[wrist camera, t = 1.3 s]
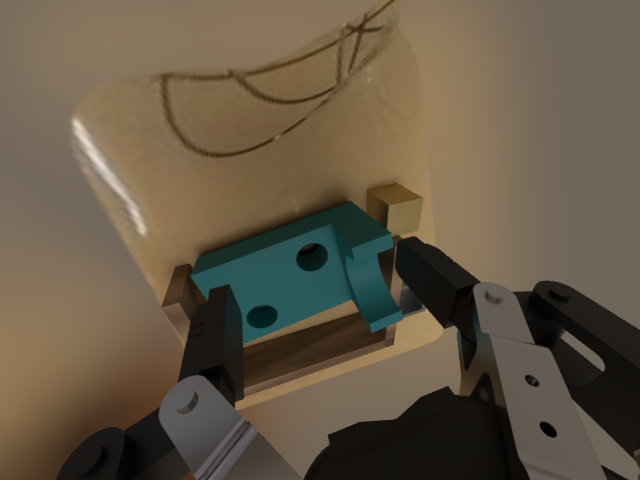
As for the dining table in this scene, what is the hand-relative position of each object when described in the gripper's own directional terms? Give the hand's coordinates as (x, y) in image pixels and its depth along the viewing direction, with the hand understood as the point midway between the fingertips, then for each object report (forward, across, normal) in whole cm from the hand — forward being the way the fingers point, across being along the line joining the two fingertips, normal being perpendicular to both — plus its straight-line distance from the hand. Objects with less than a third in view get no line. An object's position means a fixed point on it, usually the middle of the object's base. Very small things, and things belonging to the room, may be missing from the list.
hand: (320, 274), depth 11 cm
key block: (+16, -12, +6) cm, 21 cm away
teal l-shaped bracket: (+16, 0, +11) cm, 20 cm away
